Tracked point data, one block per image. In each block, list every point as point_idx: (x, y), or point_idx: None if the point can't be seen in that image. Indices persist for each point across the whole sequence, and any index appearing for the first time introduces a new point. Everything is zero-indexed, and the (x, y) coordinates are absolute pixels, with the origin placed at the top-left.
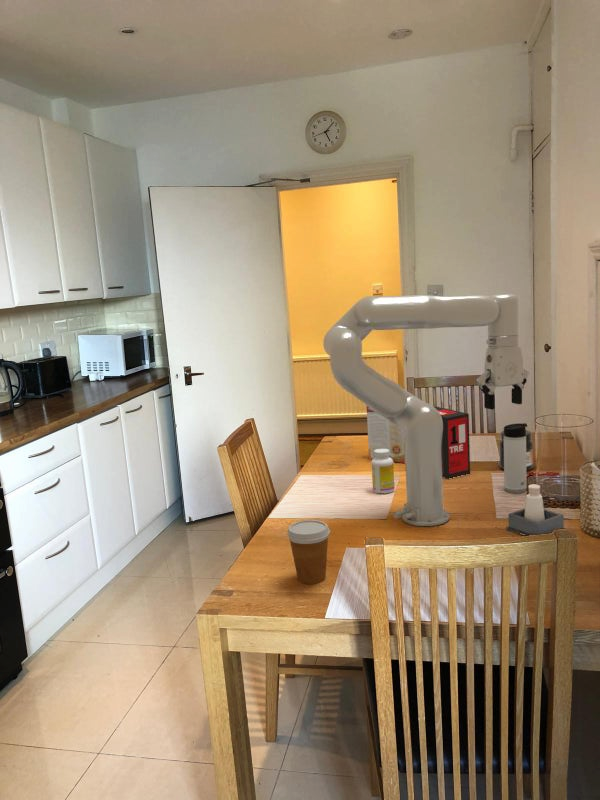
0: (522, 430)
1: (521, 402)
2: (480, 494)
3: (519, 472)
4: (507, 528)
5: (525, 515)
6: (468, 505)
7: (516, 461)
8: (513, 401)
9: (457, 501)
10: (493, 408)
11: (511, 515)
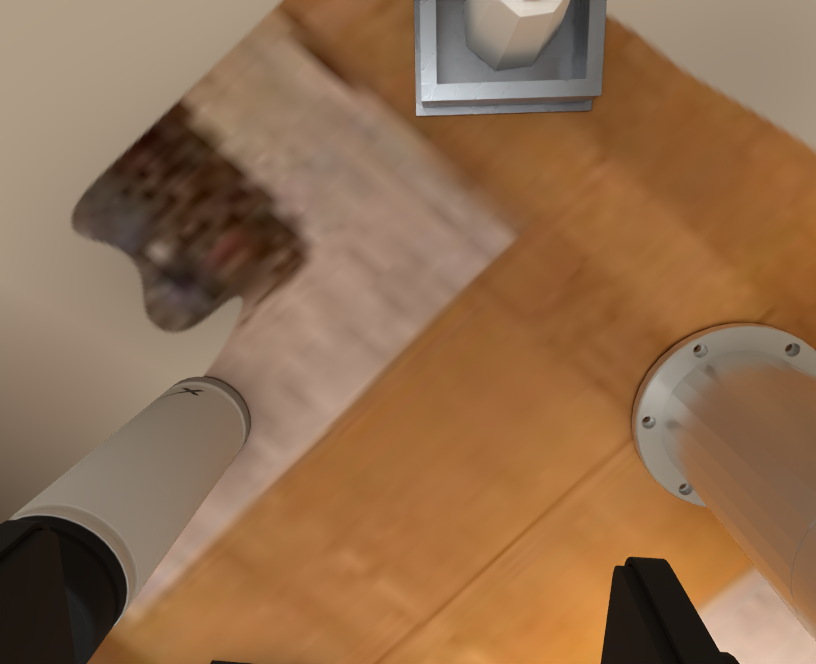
0: None
1: (5, 531)
2: (355, 471)
3: (182, 417)
4: (590, 103)
5: (557, 25)
6: (489, 412)
7: (169, 451)
8: (56, 659)
9: (487, 472)
10: (653, 561)
11: (601, 75)
